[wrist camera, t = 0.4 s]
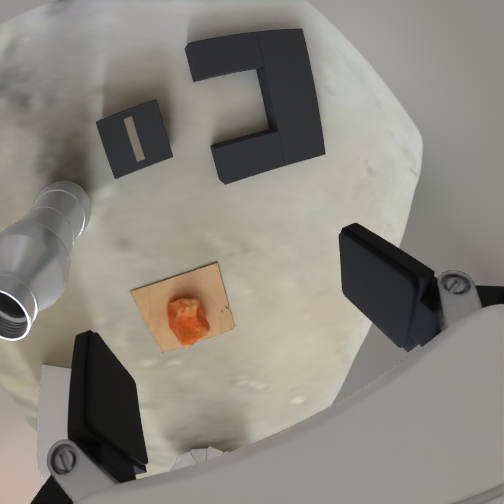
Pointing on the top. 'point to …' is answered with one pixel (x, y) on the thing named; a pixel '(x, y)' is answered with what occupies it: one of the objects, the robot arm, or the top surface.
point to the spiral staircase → (196, 457)
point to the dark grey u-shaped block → (265, 99)
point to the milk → (51, 412)
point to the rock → (185, 308)
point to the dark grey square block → (134, 138)
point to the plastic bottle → (39, 255)
